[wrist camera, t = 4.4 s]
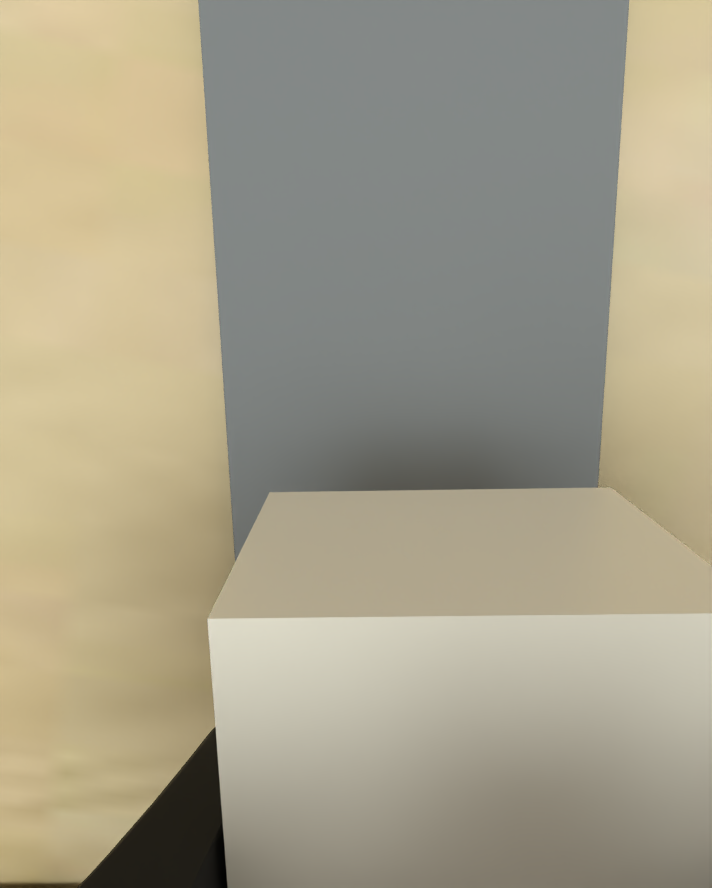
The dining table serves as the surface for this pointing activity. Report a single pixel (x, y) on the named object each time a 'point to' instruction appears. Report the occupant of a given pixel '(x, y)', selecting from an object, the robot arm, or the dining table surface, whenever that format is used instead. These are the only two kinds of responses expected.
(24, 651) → the dining table surface
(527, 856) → the card box
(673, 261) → the dining table surface
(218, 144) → the mat
